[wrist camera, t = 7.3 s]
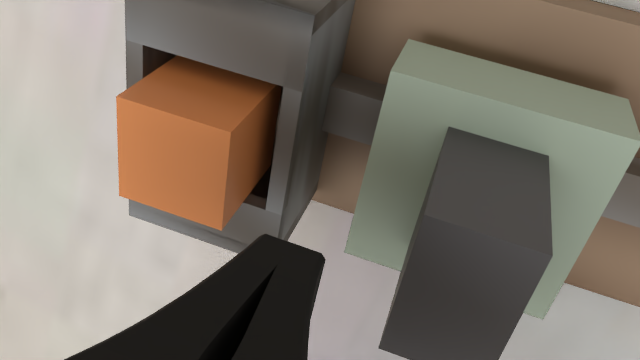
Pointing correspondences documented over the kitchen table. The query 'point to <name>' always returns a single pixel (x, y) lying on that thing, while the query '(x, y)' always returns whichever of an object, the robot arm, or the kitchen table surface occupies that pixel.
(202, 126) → the button
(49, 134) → the kitchen table surface
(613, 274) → the rail base
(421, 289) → the carriage
